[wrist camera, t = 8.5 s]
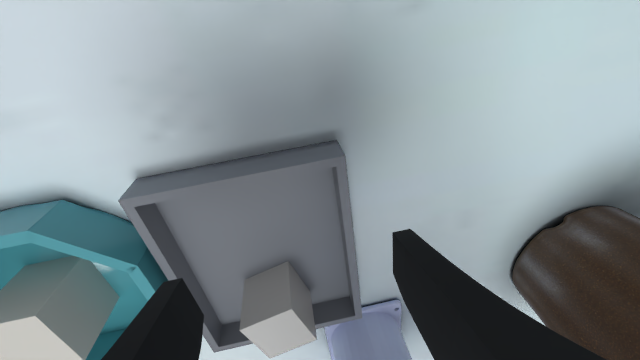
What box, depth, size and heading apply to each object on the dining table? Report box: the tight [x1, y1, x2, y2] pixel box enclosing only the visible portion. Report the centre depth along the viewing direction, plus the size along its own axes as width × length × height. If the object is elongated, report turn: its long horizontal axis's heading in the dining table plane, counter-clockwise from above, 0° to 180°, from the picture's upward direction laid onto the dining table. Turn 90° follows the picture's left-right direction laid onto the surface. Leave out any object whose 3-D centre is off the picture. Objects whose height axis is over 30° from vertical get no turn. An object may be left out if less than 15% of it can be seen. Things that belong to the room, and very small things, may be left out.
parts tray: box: [118, 140, 362, 352], centre depth 22 cm, size 16×13×2 cm
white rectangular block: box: [0, 256, 119, 360], centre depth 19 cm, size 5×4×5 cm
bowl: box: [0, 200, 168, 360], centre depth 20 cm, size 14×14×3 cm
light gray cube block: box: [239, 261, 317, 358], centre depth 22 cm, size 4×4×4 cm
